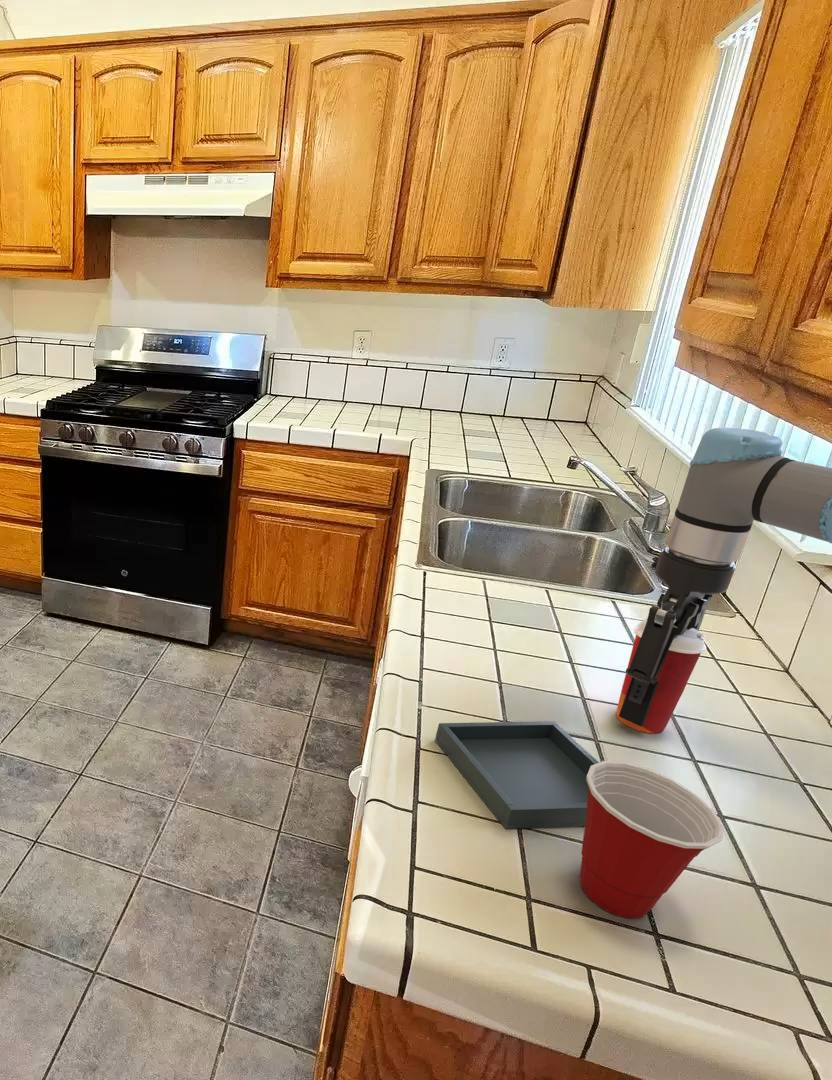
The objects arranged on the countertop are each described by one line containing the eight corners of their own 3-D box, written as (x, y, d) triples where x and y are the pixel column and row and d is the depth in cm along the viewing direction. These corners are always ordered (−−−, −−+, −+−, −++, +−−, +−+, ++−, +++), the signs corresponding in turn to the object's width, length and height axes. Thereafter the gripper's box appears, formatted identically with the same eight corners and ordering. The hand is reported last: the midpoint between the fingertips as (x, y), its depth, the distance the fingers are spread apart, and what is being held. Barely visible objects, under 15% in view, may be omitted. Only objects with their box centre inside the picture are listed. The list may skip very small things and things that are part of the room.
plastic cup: (691, 964, 66) (739, 859, 62) (553, 911, 71) (588, 810, 67) (675, 881, 75) (716, 784, 71) (553, 839, 80) (584, 745, 76)
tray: (638, 824, 83) (645, 805, 82) (505, 829, 81) (511, 810, 80) (549, 737, 97) (554, 720, 96) (434, 740, 96) (438, 722, 95)
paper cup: (673, 718, 103) (707, 627, 98) (675, 746, 97) (712, 650, 92) (606, 698, 107) (636, 610, 102) (604, 724, 101) (636, 631, 96)
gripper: (694, 531, 101) (641, 679, 109) (632, 558, 90) (579, 720, 99) (762, 550, 95) (701, 704, 104) (705, 581, 85) (642, 751, 93)
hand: (642, 712), depth 101 cm, fingers closed on paper cup, 6 cm apart
